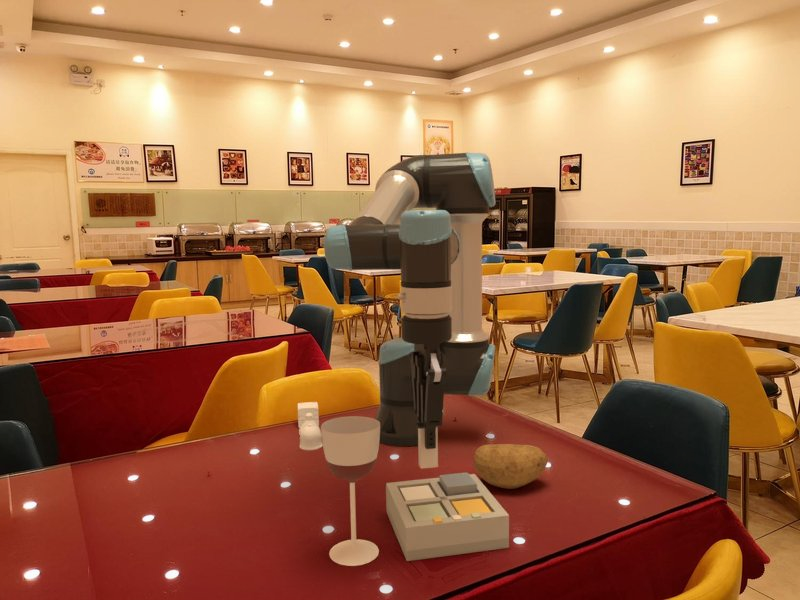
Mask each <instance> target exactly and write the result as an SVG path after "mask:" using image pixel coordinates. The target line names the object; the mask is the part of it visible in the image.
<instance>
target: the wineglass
mask: <svg viewBox="0 0 800 600" xmlns="http://www.w3.org/2000/svg"><path fill="white" fill-rule="evenodd" d="M320 431H321V435H322V444H323V446H322V449H323V453H324V456H325V461H326V462H325V463H326V465H327V468H328V470H329V471H330V473H332V474H333V475H334V476H335V477H337V478H338V479H341V480H344V481H347V482H349V502H350V509H349V510H350V537H351V538H350V539H347V540H343V541H340V542H338V543H337V544H334V545H333V546H332V548H330V550H329V553H328V555H329V558H330V559H331V560H332V561H333V562H334V563H336V564H338V565H341V566H347V567H349V566H350V567H356V566H362V565H365V564H368V563H370V562H372V561H374V560H376V558H377V557H378V556H379V552H380V550H379V548H378V545H376V544H375V543H374V542H372V541H370V540H366V539H362V538H361V539H359V538H358V539H357V516H356V515H357V514H356V482H357V481H359V480H361V479H364V478H365V477H366V476H368V475H369V474H371V472H372V471H373V470H374V469H375V467H376V464H377V460H378V453H379V447H380V442H379V440H380V422H379V421H378V420H376V418H373V417H370V416H369V417H368V416H362V415H359V416H358V415H354V416H351V415H350V416H349V415H348V416H339V417H334V418H331V419H328V420H326V421H323V423H322V424H321V425H320Z"/></svg>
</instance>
